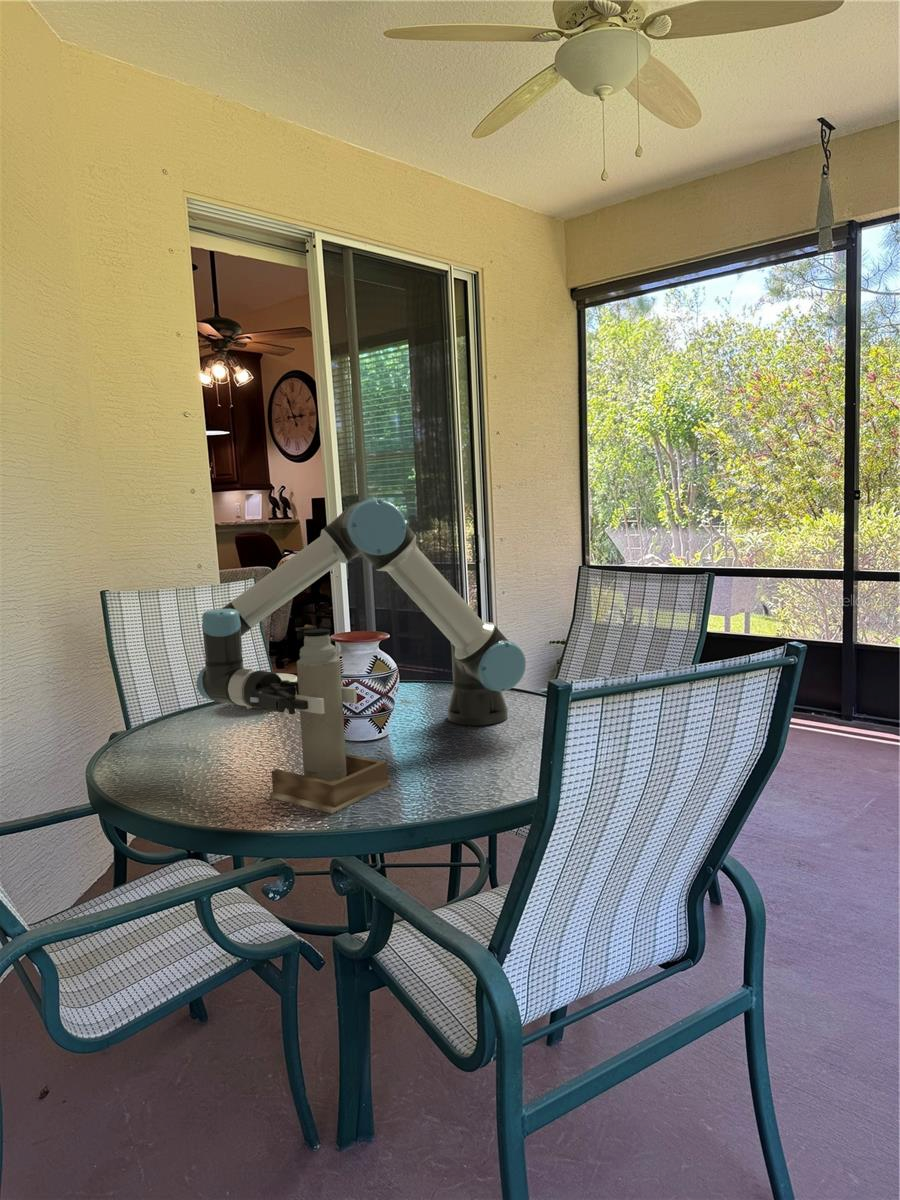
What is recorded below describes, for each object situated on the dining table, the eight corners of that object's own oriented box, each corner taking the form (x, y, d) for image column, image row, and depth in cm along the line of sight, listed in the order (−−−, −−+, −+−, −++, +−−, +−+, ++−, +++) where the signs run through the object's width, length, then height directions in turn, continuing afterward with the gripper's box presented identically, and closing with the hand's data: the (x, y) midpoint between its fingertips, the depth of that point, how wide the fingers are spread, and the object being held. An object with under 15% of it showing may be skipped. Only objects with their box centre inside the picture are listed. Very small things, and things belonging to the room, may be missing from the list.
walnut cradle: (269, 797, 140) (268, 772, 139) (330, 771, 153) (328, 748, 152) (332, 813, 130) (330, 787, 130) (390, 784, 143) (389, 760, 143)
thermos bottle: (295, 777, 142) (286, 630, 139) (329, 765, 147) (321, 625, 144) (320, 786, 136) (311, 634, 133) (355, 774, 142) (346, 628, 139)
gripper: (296, 696, 159) (377, 707, 146) (215, 719, 143) (298, 735, 129) (294, 661, 158) (375, 670, 145) (212, 681, 142) (296, 693, 129)
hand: (339, 700), depth 137 cm, fingers closed on thermos bottle, 8 cm apart
